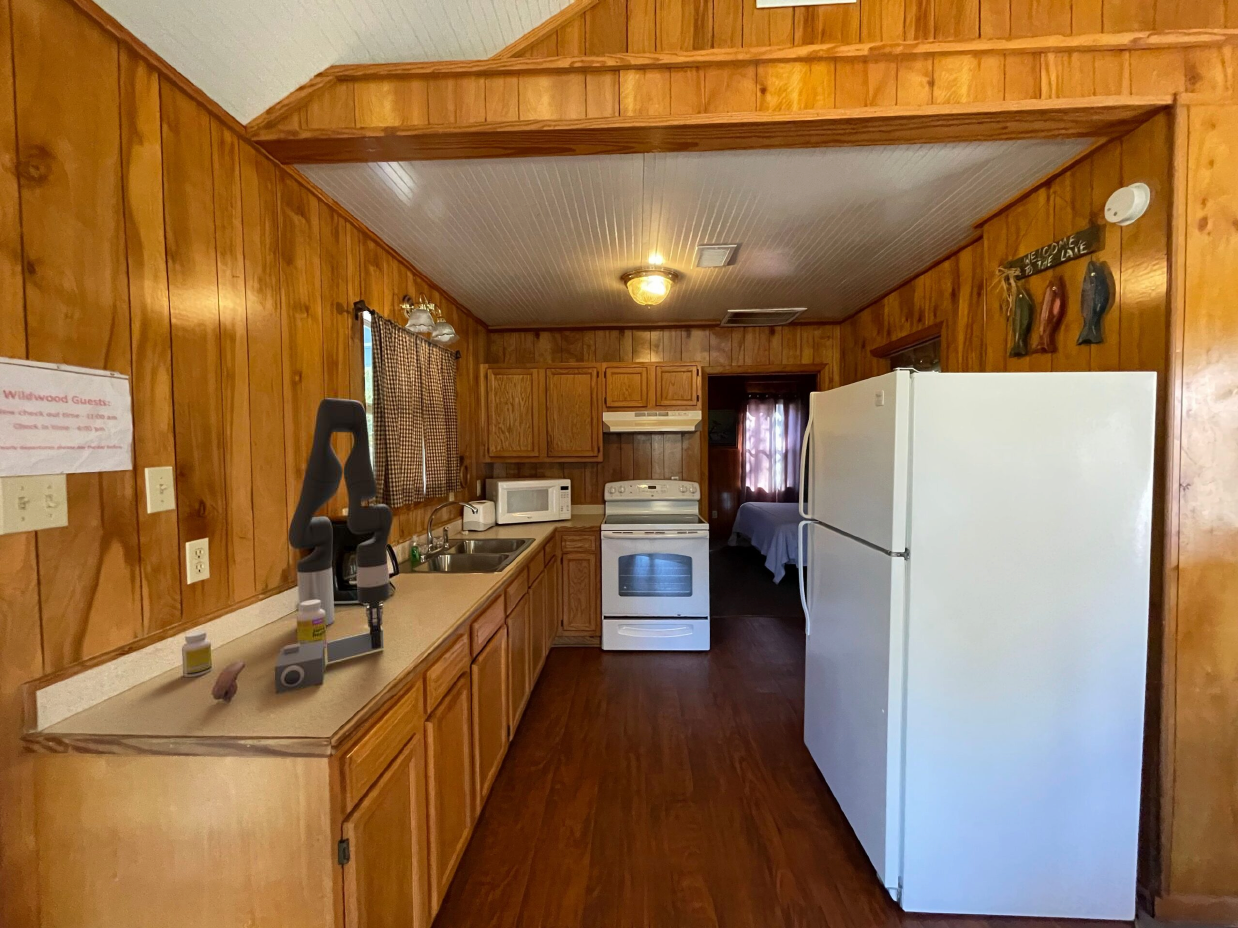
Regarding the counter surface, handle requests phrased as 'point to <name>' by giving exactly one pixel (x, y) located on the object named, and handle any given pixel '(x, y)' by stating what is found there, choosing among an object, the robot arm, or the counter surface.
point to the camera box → (300, 666)
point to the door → (350, 646)
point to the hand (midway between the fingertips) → (376, 647)
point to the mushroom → (227, 682)
